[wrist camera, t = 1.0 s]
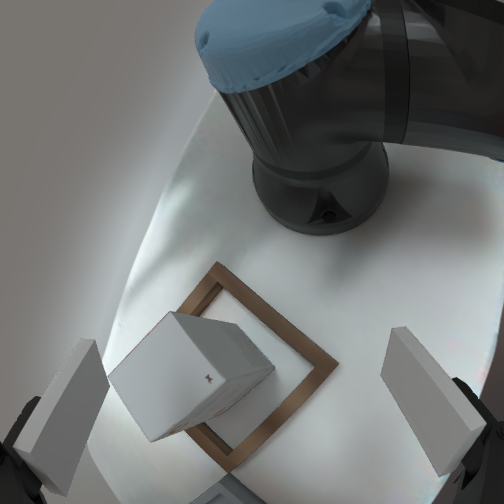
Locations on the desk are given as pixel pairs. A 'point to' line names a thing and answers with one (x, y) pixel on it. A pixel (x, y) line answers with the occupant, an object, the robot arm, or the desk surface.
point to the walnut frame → (282, 327)
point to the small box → (187, 373)
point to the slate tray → (228, 493)
